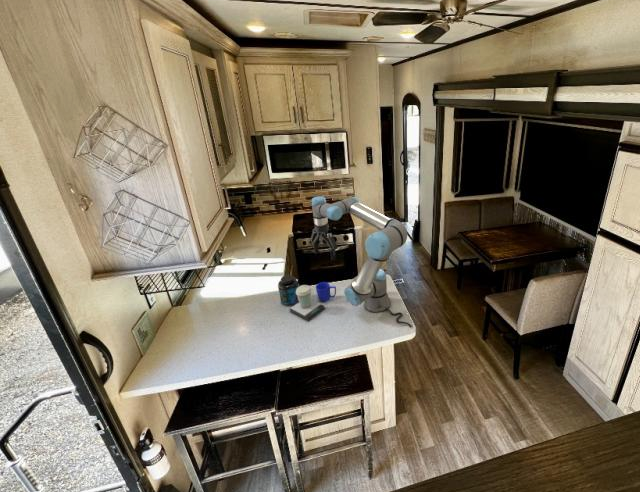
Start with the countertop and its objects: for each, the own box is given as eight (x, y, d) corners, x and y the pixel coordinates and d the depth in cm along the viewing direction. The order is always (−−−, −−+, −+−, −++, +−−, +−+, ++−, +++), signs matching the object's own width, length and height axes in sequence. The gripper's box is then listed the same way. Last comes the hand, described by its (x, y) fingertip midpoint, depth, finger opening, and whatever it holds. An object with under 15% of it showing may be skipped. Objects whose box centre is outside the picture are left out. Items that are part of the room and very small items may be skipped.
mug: (335, 303, 198) (334, 289, 194) (316, 303, 199) (314, 289, 195) (338, 295, 206) (337, 281, 202) (319, 295, 206) (317, 281, 202)
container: (277, 299, 202) (274, 276, 196) (296, 293, 209) (294, 270, 203) (284, 309, 194) (281, 285, 188) (304, 302, 201) (302, 278, 195)
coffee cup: (314, 308, 190) (311, 291, 185) (298, 311, 187) (295, 294, 182) (312, 299, 197) (310, 283, 192) (297, 303, 194) (294, 286, 190)
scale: (324, 309, 194) (324, 304, 192) (307, 321, 184) (307, 317, 183) (307, 300, 201) (306, 296, 200) (290, 312, 192) (289, 307, 190)
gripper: (342, 226, 182) (345, 259, 190) (311, 216, 195) (315, 248, 203) (332, 230, 176) (335, 264, 184) (301, 221, 189) (305, 253, 197)
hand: (325, 256), depth 194 cm, fingers open, 13 cm apart
